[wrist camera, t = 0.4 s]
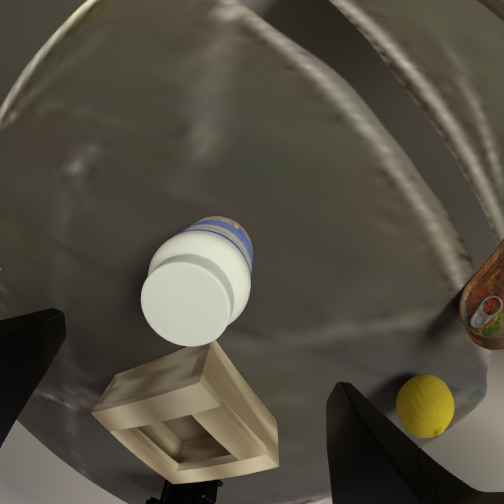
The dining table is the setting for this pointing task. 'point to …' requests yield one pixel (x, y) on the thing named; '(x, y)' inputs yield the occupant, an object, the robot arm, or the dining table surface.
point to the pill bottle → (198, 282)
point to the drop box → (190, 417)
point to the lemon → (425, 406)
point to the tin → (485, 303)
